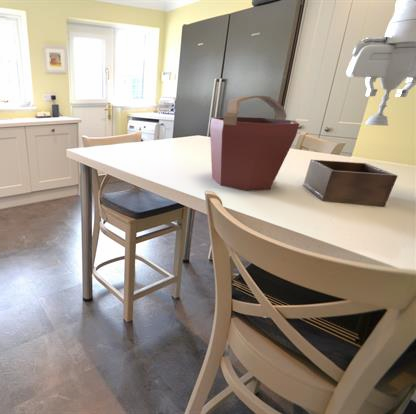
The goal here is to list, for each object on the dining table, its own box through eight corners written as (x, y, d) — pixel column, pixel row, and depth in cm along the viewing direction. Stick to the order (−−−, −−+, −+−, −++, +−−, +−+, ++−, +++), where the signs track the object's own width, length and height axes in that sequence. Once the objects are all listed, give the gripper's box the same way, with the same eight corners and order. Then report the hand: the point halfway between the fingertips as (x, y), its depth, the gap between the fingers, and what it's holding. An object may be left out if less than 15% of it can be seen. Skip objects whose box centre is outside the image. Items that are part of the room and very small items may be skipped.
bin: (355, 190, 82) (365, 163, 79) (384, 206, 70) (398, 175, 67) (303, 185, 86) (310, 159, 83) (322, 200, 73) (331, 170, 70)
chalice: (391, 126, 73) (421, 47, 66) (357, 124, 78) (382, 50, 71) (394, 124, 77) (423, 50, 71) (362, 122, 82) (386, 52, 75)
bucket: (225, 195, 76) (244, 95, 67) (186, 173, 96) (197, 94, 87) (301, 190, 81) (329, 97, 71) (249, 170, 101) (266, 95, 91)
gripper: (364, 35, 70) (345, 95, 75) (470, 33, 65) (442, 98, 70) (351, 39, 75) (334, 95, 80) (448, 38, 70) (423, 97, 75)
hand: (385, 96), depth 75 cm, fingers closed on chalice, 5 cm apart
